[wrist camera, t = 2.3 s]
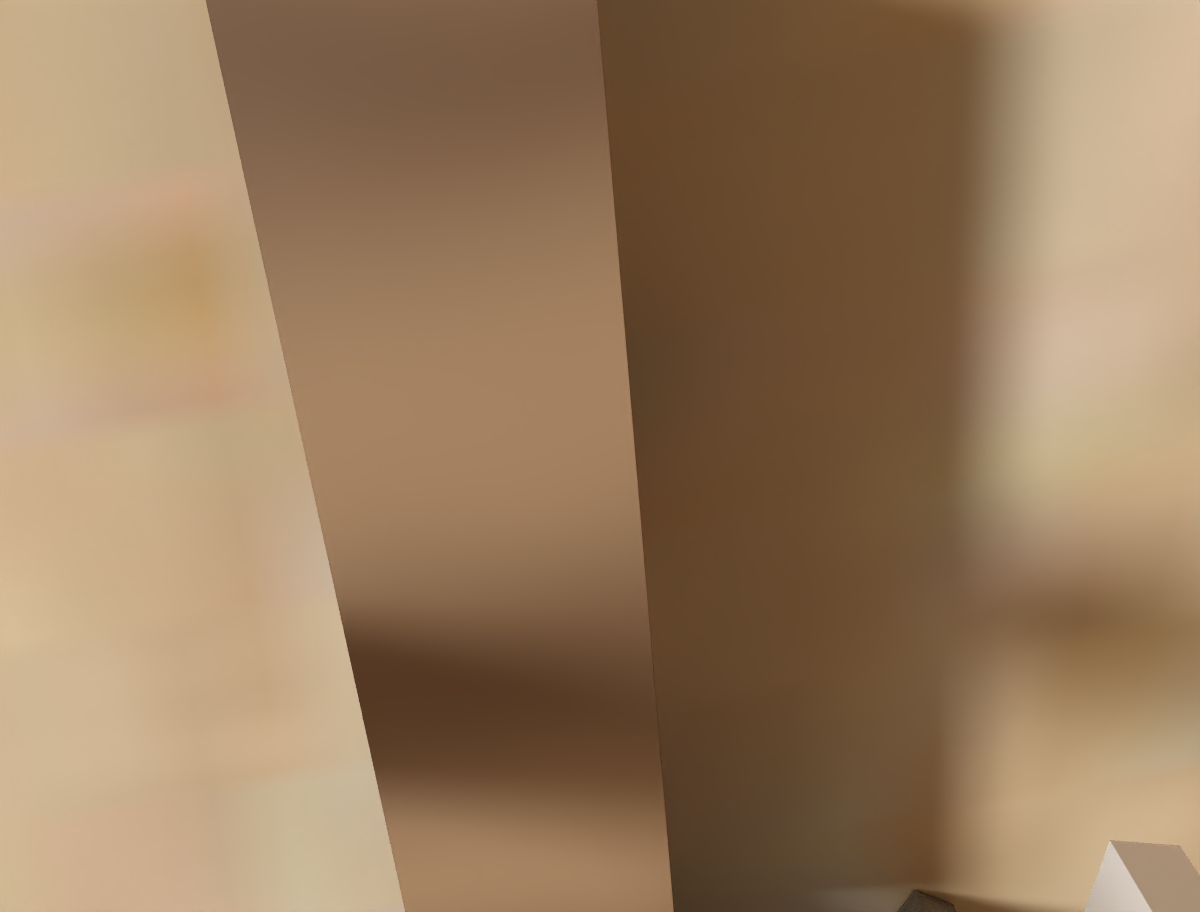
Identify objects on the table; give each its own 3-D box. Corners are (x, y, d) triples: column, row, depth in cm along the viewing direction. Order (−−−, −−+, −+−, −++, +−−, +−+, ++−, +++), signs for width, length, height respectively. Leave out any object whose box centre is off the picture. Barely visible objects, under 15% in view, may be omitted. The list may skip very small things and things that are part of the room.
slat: (324, -55, 17) (192, -58, 11) (589, -81, 17) (588, -97, 11) (483, 856, 24) (451, 1122, 19) (667, 842, 24) (689, 1105, 18)
